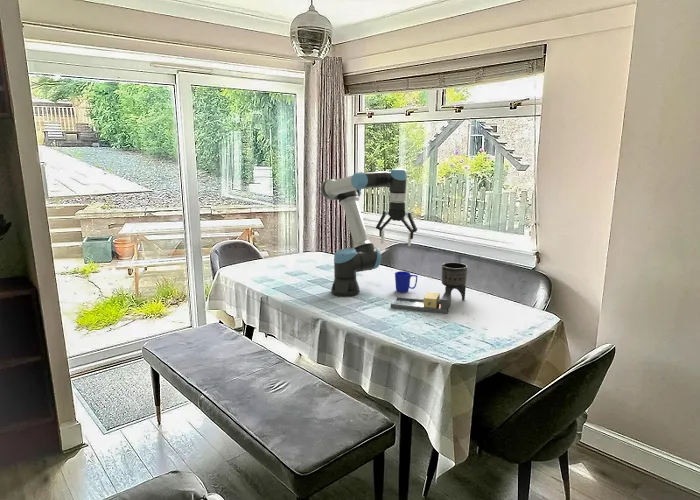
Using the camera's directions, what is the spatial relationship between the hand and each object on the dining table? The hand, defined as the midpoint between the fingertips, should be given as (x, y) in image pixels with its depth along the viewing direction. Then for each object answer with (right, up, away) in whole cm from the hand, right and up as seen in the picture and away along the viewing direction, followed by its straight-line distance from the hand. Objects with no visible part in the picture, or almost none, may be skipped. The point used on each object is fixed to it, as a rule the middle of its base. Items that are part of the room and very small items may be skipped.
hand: (395, 244), depth 234 cm
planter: (+30, -28, +10) cm, 42 cm away
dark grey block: (+23, -32, -7) cm, 40 cm away
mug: (+8, -25, +23) cm, 35 cm away
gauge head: (+17, -30, -6) cm, 35 cm away
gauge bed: (+12, -31, -3) cm, 33 cm away
